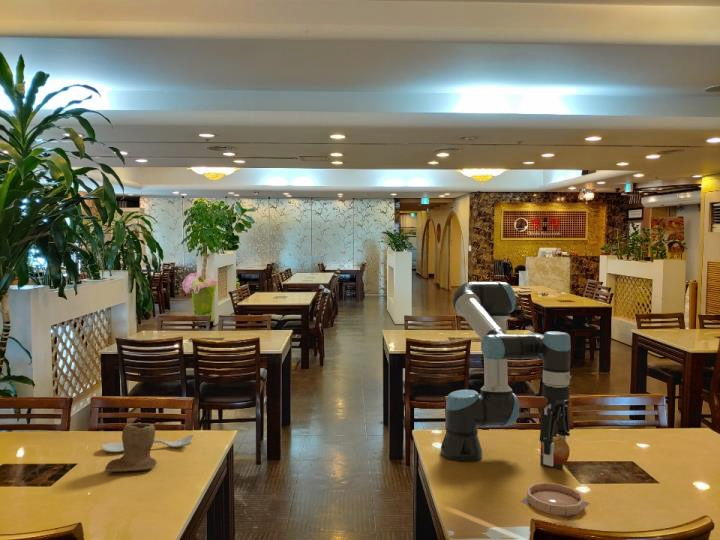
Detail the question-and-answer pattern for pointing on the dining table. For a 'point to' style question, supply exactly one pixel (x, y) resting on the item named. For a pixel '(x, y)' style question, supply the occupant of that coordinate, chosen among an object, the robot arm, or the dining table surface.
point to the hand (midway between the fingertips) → (554, 460)
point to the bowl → (555, 499)
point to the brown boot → (135, 449)
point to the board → (558, 515)
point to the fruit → (559, 450)
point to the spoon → (178, 443)
